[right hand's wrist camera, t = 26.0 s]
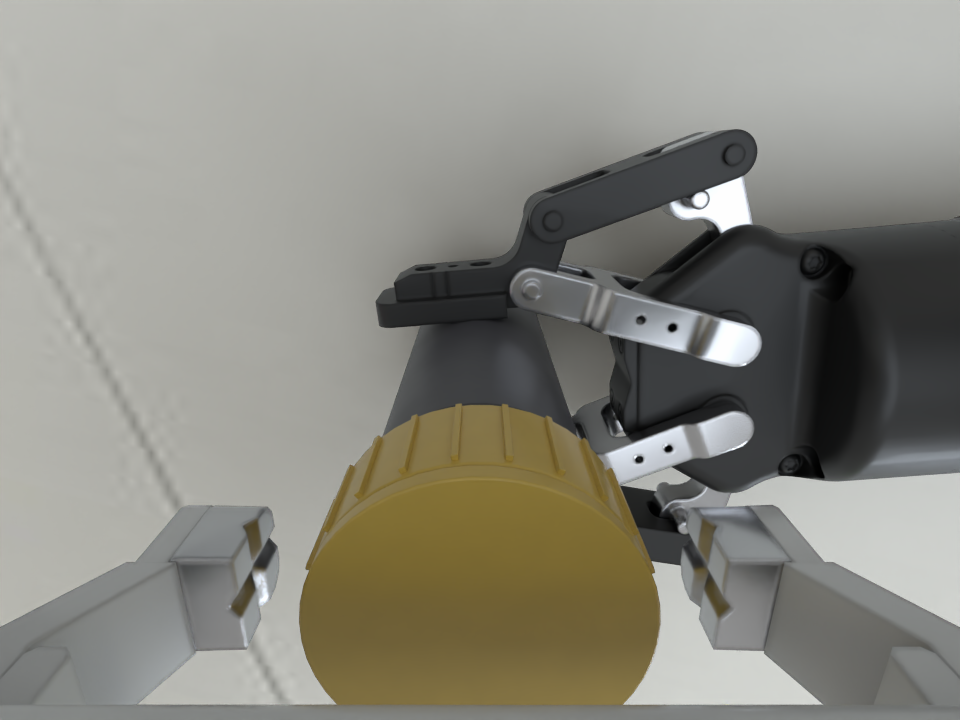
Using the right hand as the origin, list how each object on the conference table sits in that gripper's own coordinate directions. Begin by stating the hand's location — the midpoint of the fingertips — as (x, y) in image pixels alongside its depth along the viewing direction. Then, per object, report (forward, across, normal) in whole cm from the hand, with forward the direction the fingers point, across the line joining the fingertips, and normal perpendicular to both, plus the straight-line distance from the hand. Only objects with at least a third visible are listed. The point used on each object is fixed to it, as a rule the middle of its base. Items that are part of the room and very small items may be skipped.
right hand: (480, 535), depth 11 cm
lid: (-2, 0, 0) cm, 2 cm away
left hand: (+8, -3, 0) cm, 8 cm away
